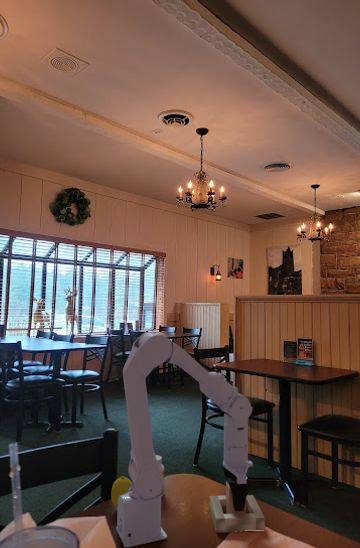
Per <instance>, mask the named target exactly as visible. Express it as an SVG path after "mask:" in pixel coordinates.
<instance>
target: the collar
mask: <svg viewBox="0 0 360 548" xmlns="http://www.w3.org/2000/svg"><path fill="white" fill-rule="evenodd" d="M209 510H210V515H211V519H212V523H213V526H214V530H215V533H219V534H220V533H222V534H223V533H236V532H235V531H245V530H266V524H265V518H266V517H265V516H264V513H263V511H262V510H261V507H260V506H259V504H258V502H257V500H256V498H255V495H254V494H248V495H247V498H246V514H226V495H209Z"/></svg>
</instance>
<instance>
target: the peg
mask: <svg viewBox="0 0 360 548" xmlns="http://www.w3.org/2000/svg"><path fill="white" fill-rule="evenodd" d="M225 496H226V512H225V514H247V512H246V503H245V507H244V511H235V510H234V507H233V500H232V493H231V489H230V486H229V484H228V482H227V481H226V480H225Z"/></svg>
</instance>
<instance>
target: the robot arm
mask: <svg viewBox="0 0 360 548" xmlns="http://www.w3.org/2000/svg"><path fill="white" fill-rule="evenodd" d="M165 362H167V363H168V364H175V365H177V366H178V367H179V368H180V369H182V370H183V371H185V372H186V373H187V374H188V375H190V377H192V378H193V379H195V380H196V381H197V382H199V390H200V392H201V393H202V394H204V395H205V396H206V397H207V398H208V399H210V401H212V402H213V403H214V404H215V405H217V406H218V407H219V408H220V410H221V412H224V414H223V461H222V463H220V467H221V469H222V471H223V474H224V479H225V482H226V481H227V482H228V484H229V486H230V489H231V493H232V500H233V507H234V510H235V511H244V507H245V503H246V498H247V495H249V492H250V489H251V488H252V486H253V480H252V479H247V472H248V469H249V468H250V467H254V463H253V461H251V460H249V451H248V450H249V448H248V447H249V441H248V440H249V439H248V438H249V437H248V436H249V435H248V434H249V432H248V431H249V430H248V429H249V428H248V427H249V418H250V416H251V414H252V412H253V406H251V405H252V404H251V402H250V399H249V398H248V397H247V396H245V395H243V394H241V393H239V388H238V387H236V386H235V385H231V384H230V383H229V382H228V381H227V380H226V379H225V374H223V373H220V372H216V371H209V372H208V370H206V369H205V368H204V367H203V366H202V365H201V364H200V363H199V362H197V360H196V359H194V358H193V356H192V355H190V354H189V353H188V352H187V351H186V350H185V349H184V348H182V347H181V346H180V345H178V344H177V343H176V342H174V341H171V340H170V339H169V338H168V337H167V336H166V335H163V334H159V333H156V332H153V331H147V332H144V333H141V335H140V336H139V337H138V338H137V339H135V340H134V342H133V343H132V347H131V351H130V352H129V355H128V357H127V359H126V362H125V364H124V366H123V368H122V377H123V385H124V394H125V402H126V411H127V420H128V428H129V438H130V446H131V447H130V448H131V449H130V452H129V453H130V461H129V465H128V469H127V470H128V475H129V477H130V479H131V482H132V483H131V486H130V488H129V492H128V493H126V494H124V495H121V496H119V498H118V508H117V513H116V515H117V518H116V519H117V520H116V521H117V523H116V532H117V534H118V536H119V538H120V540H121V543H122V545H123V546H124V548H130V547H136V546H139V545H143V544H150V543H154V542H158V541H162V540H166V539H167V538H168V535H167V533H166V532H165V531H164V529H163V528H162V526H161V525H162V497H161V491H162V489H163V486H164V487H165V477H164V478H163V475H162V473H161V472H160V471H159V469H158V464H157V459H156V455H157V454H156V453H155V449H154V441H153V431H152V423H151V418H150V417H151V416H150V408H149V401H148V399H149V398H148V392H147V391H148V390H147V382H146V378H147V376H149V374H150V373H151V372H152V371H153V370H154V369H155V368H156V367H158V366H160V365H162V364H163V363H165Z"/></svg>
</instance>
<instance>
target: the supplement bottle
mask: <svg viewBox="0 0 360 548" xmlns="http://www.w3.org/2000/svg"><path fill="white" fill-rule="evenodd" d="M155 455H156V459H157V464H158V469H159V471H160V472H161V473H162V475H163V478H164V479H165V466H164V465H163V464H162V462H163V457H162V456H161V455H157V454H155ZM164 495H165V485H164V486H163V489H162V491H161V498H162V497H163V496H164Z"/></svg>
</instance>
